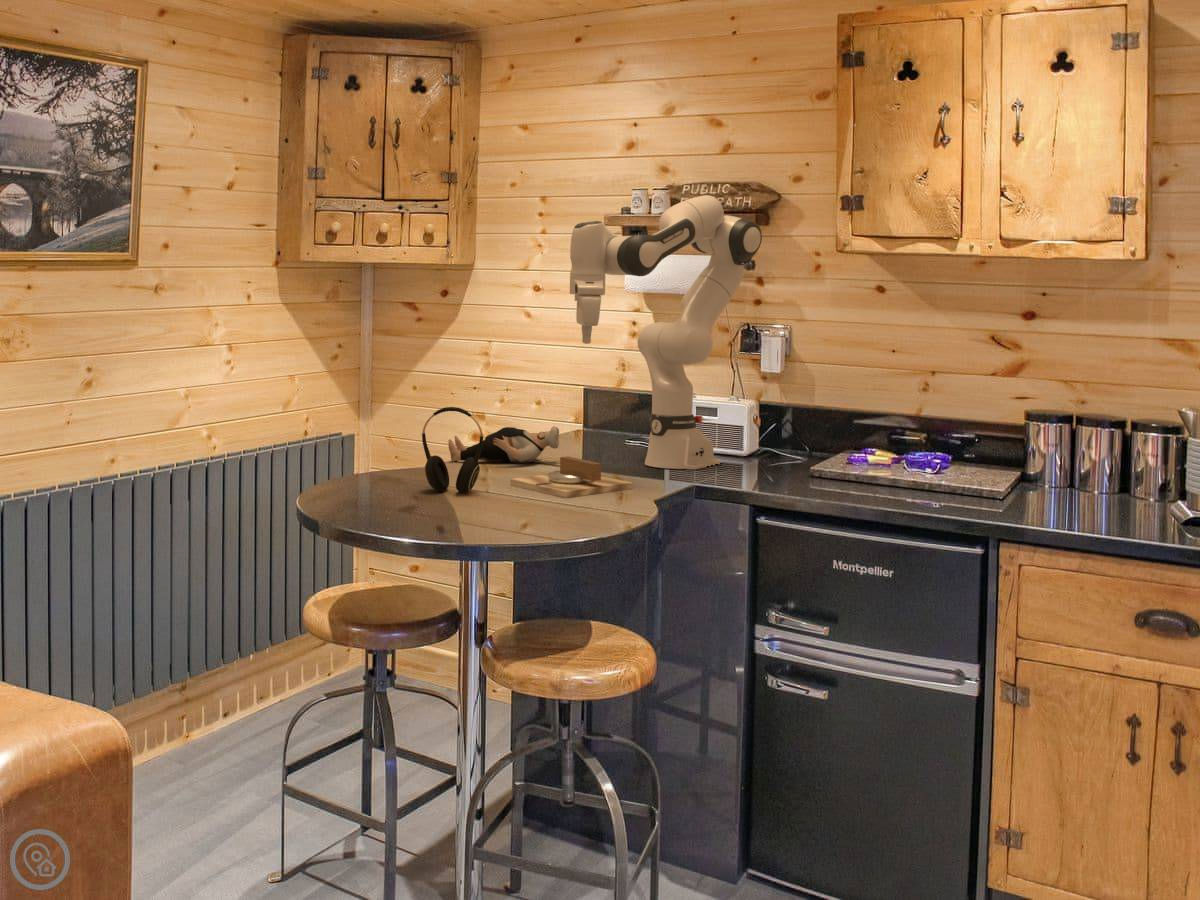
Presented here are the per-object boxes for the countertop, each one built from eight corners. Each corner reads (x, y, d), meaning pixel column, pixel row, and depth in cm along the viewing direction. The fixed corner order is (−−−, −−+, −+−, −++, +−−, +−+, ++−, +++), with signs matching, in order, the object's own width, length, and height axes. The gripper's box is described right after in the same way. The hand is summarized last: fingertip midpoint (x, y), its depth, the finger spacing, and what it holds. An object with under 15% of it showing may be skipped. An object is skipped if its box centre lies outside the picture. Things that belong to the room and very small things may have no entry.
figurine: (459, 431, 322) (561, 414, 318) (466, 467, 323) (568, 450, 319) (440, 442, 299) (550, 423, 295) (447, 480, 300) (557, 462, 296)
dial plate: (576, 476, 287) (576, 470, 287) (632, 488, 271) (632, 481, 271) (510, 484, 273) (510, 477, 273) (565, 498, 258) (565, 490, 257)
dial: (539, 478, 273) (539, 457, 272) (575, 474, 280) (575, 453, 279) (578, 487, 261) (578, 465, 260) (614, 483, 268) (615, 461, 267)
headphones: (428, 487, 268) (428, 403, 265) (488, 490, 266) (488, 406, 263) (416, 493, 260) (415, 407, 257) (477, 496, 257) (477, 410, 254)
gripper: (571, 287, 288) (570, 341, 290) (578, 287, 268) (577, 345, 270) (595, 287, 289) (594, 341, 291) (604, 287, 269) (603, 345, 271)
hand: (586, 343), depth 280 cm, fingers closed
